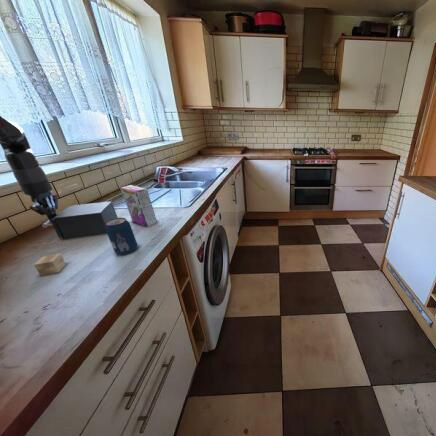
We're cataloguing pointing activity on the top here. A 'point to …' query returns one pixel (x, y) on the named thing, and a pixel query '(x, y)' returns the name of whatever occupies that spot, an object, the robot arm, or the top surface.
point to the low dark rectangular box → (85, 219)
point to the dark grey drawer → (54, 224)
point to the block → (50, 264)
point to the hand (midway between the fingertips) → (55, 221)
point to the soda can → (121, 236)
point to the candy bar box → (139, 205)
